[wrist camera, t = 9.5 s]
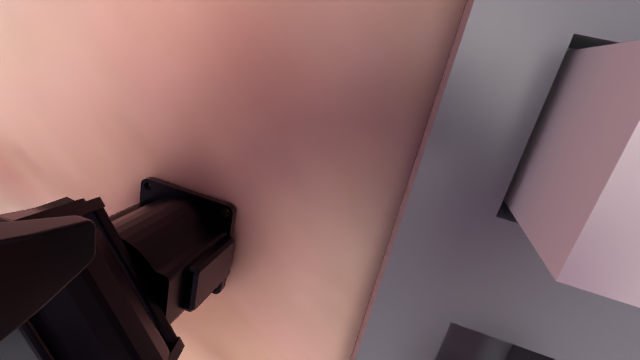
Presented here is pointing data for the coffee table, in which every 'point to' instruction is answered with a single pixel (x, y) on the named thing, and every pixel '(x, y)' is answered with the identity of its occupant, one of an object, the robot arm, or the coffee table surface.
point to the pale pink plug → (586, 174)
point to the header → (492, 204)
